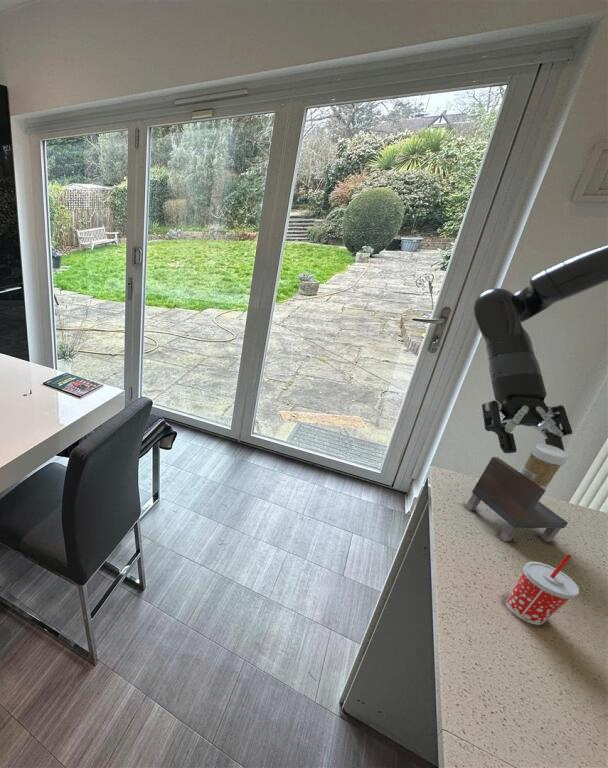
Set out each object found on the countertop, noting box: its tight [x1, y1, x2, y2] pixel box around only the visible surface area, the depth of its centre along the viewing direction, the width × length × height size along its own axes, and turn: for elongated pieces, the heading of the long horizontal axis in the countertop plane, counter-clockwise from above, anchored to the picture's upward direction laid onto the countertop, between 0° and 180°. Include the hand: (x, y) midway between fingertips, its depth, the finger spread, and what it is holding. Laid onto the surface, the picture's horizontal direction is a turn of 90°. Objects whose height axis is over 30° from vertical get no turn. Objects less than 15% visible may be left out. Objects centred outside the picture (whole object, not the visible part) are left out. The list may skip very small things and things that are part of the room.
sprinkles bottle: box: [519, 443, 569, 490], centre depth 80 cm, size 5×5×14 cm
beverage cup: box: [505, 554, 580, 626], centre depth 65 cm, size 6×6×14 cm
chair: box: [465, 456, 569, 542], centre depth 83 cm, size 10×10×14 cm
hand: (533, 454), depth 81 cm, fingers open, 8 cm apart
